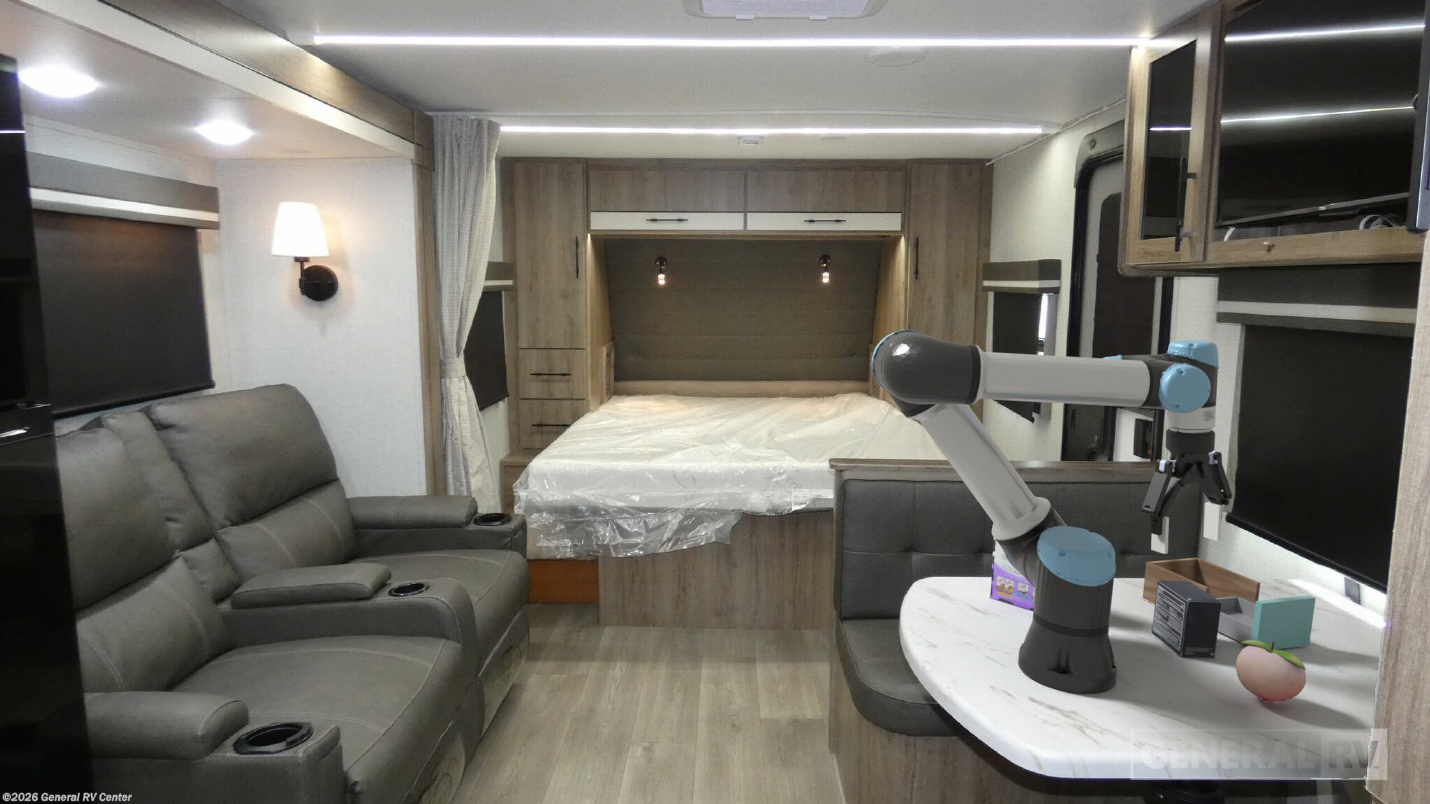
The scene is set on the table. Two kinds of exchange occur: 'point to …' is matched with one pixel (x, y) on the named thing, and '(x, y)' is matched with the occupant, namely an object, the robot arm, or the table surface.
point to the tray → (1268, 620)
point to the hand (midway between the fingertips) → (1186, 545)
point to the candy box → (1009, 582)
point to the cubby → (1199, 579)
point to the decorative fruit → (1270, 672)
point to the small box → (1186, 619)
